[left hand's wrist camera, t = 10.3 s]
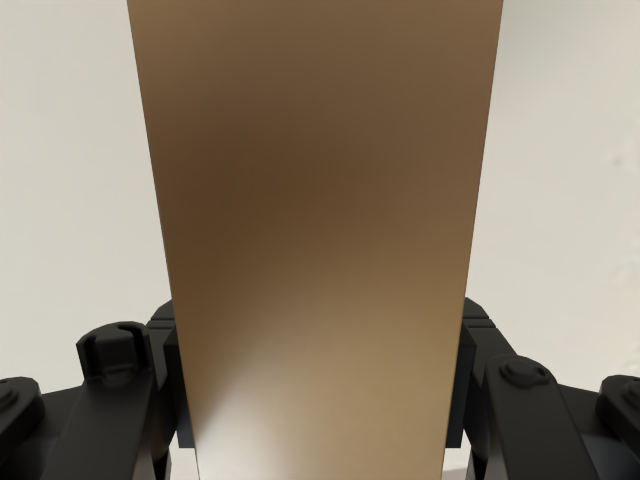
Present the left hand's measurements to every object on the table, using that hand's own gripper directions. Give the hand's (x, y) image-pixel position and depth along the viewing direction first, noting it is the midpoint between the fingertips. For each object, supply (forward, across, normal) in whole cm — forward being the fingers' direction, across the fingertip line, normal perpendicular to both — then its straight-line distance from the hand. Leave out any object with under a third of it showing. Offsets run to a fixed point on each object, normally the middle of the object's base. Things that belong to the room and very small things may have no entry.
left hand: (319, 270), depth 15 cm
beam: (+1, 0, -22) cm, 23 cm away
